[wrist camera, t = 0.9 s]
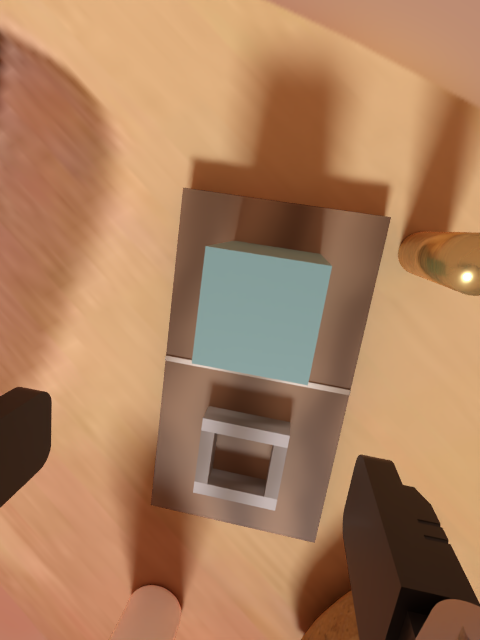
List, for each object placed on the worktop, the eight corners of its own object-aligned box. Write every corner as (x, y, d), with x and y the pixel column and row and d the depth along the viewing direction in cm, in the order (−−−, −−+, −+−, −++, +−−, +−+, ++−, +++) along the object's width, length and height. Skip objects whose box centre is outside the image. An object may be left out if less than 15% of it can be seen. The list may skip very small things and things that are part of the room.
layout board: (384, 218, 27) (419, 213, 19) (313, 524, 33) (318, 613, 26) (190, 190, 28) (151, 176, 21) (159, 489, 35) (120, 563, 27)
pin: (448, 234, 27) (521, 238, 18) (436, 277, 27) (502, 300, 19) (404, 228, 27) (455, 228, 18) (393, 270, 28) (438, 290, 19)
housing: (320, 253, 26) (332, 266, 18) (304, 337, 28) (307, 385, 19) (234, 240, 27) (205, 246, 18) (222, 322, 28) (191, 363, 20)
